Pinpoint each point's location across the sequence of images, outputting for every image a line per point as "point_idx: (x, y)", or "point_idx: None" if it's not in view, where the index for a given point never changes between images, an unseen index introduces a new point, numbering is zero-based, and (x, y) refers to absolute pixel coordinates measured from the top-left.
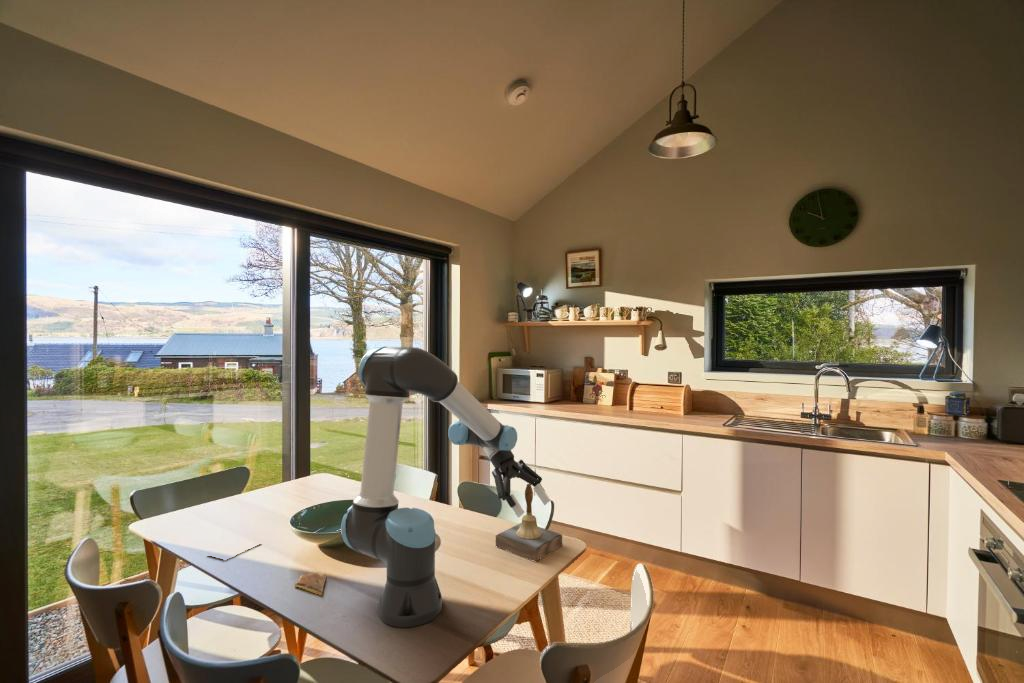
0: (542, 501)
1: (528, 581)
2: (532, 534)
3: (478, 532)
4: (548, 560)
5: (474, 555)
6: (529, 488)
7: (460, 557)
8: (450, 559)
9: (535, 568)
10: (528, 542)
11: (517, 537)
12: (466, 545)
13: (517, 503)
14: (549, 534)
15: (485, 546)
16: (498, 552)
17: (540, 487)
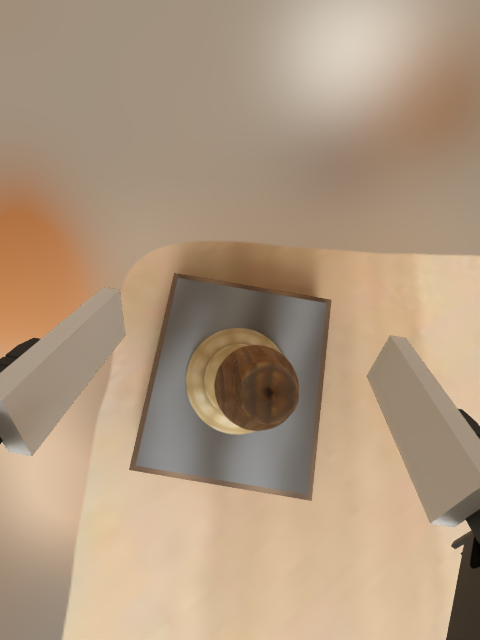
0: (112, 347)
1: (415, 279)
2: (267, 346)
3: (227, 632)
4: (287, 284)
5: (392, 510)
6: (287, 366)
7: (433, 547)
8: None
9: (348, 294)
10: (303, 344)
11: None
12: (350, 594)
13: (440, 390)
14: (202, 308)
15: (316, 518)
16: (328, 446)
17: (37, 362)
